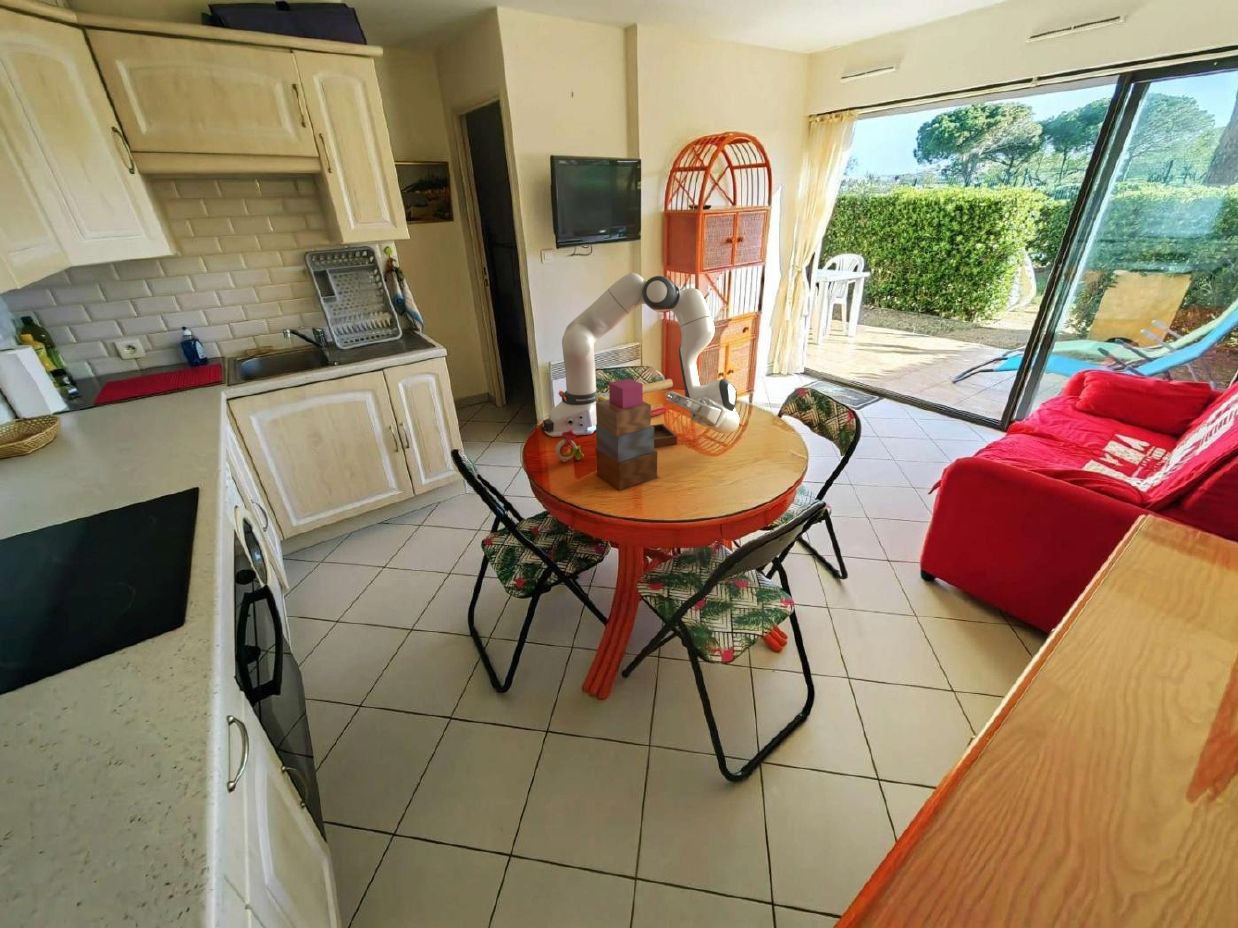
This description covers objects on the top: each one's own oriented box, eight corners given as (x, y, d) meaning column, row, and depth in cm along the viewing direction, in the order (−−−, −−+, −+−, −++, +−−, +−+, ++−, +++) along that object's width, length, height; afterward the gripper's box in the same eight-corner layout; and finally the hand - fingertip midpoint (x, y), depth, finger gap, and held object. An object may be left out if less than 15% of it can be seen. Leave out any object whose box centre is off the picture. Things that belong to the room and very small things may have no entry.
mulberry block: (663, 389, 160) (663, 370, 157) (677, 395, 154) (678, 376, 152) (609, 402, 150) (608, 382, 147) (622, 409, 145) (622, 388, 142)
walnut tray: (632, 450, 176) (632, 442, 175) (621, 437, 187) (621, 429, 185) (676, 443, 181) (677, 436, 179) (662, 430, 191) (663, 423, 190)
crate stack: (633, 462, 168) (632, 392, 157) (657, 477, 158) (658, 404, 147) (596, 473, 161) (593, 401, 150) (619, 490, 151) (618, 414, 141)
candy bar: (663, 411, 210) (663, 404, 209) (668, 413, 208) (669, 406, 206) (631, 419, 203) (631, 412, 201) (636, 422, 200) (636, 414, 199)
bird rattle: (568, 471, 168) (590, 455, 170) (554, 446, 161) (576, 429, 163) (560, 464, 172) (581, 448, 175) (546, 439, 166) (568, 423, 168)
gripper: (687, 394, 176) (660, 381, 167) (729, 411, 161) (702, 397, 152) (679, 411, 177) (652, 398, 168) (721, 429, 161) (693, 417, 152)
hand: (676, 398), depth 160 cm, fingers open, 8 cm apart
